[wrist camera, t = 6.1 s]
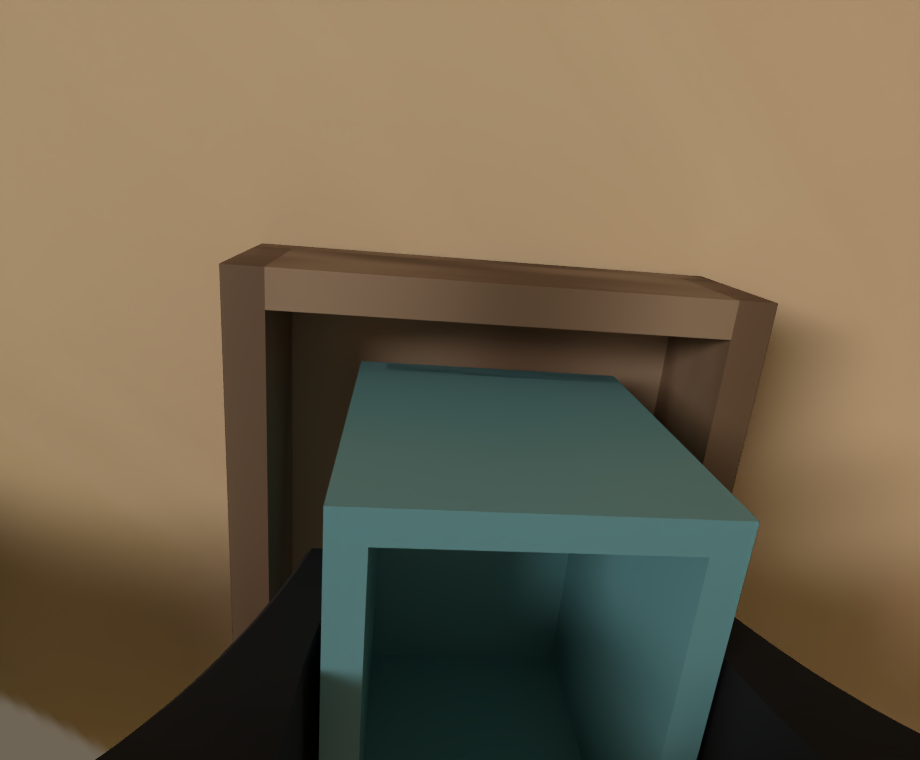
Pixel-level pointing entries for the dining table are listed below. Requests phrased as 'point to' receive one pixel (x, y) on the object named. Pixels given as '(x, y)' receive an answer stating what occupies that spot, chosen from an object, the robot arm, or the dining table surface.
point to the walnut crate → (449, 344)
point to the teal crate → (520, 572)
